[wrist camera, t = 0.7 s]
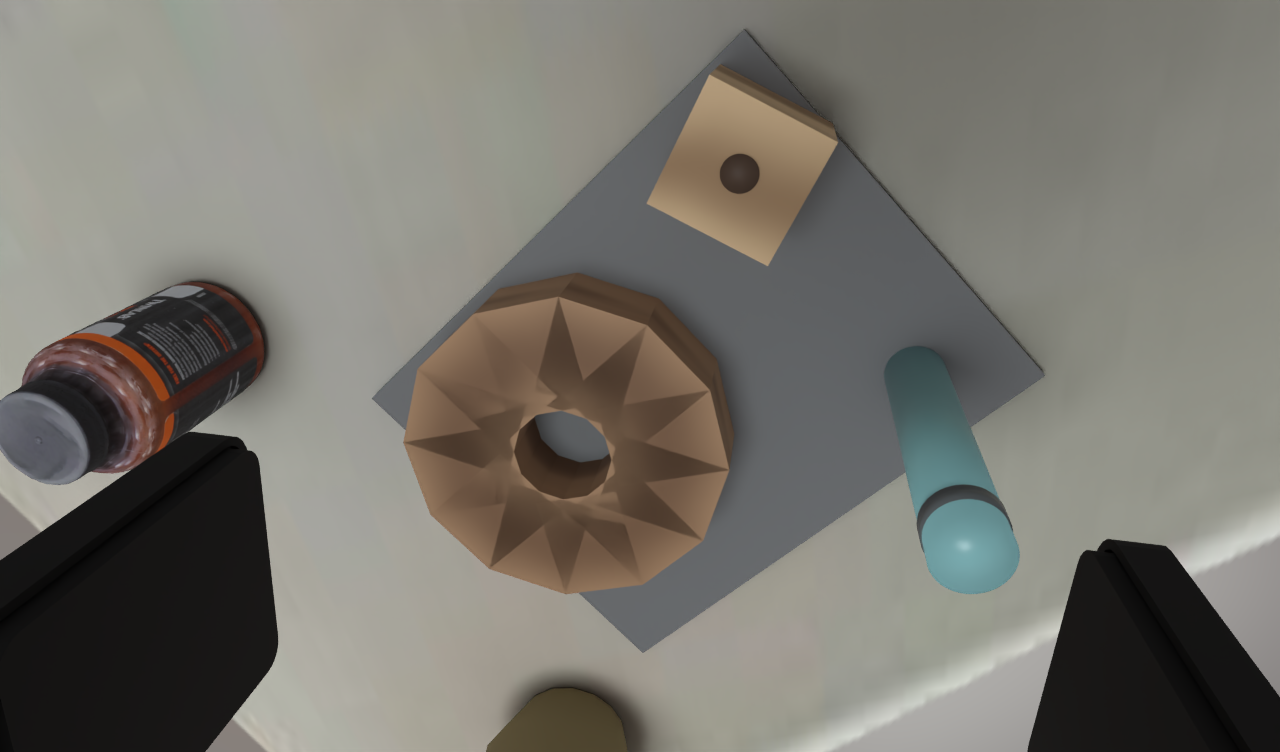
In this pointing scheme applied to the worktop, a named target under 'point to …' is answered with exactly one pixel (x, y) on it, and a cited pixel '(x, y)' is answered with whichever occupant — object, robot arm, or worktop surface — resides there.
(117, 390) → the supplement bottle
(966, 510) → the teal marker pen
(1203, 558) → the worktop surface
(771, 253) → the cube bead
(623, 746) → the squeeze bottle
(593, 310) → the faceted wooden ring
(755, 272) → the felt mat
